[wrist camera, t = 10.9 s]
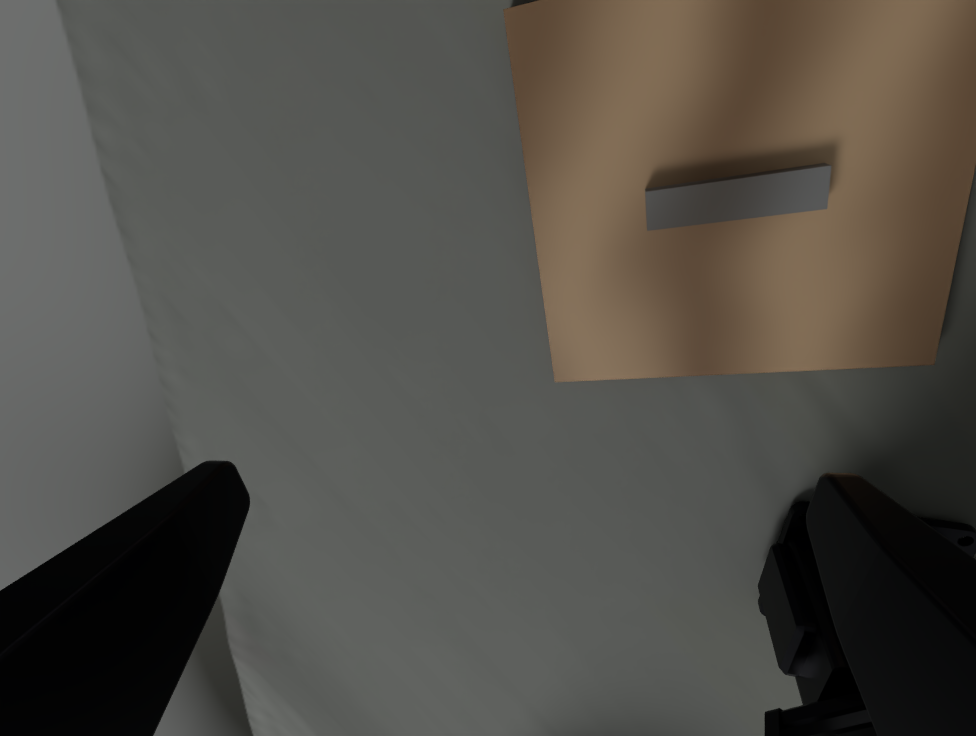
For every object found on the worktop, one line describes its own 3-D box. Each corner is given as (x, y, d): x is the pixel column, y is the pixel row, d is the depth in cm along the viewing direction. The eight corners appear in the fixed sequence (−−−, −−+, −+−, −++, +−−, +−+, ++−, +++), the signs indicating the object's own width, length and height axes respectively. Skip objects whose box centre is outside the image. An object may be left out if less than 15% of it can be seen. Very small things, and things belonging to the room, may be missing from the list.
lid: (1013, -115, 13) (1054, -137, 11) (922, 354, 18) (943, 373, 17) (508, 12, 16) (499, 6, 15) (557, 372, 21) (552, 389, 20)
